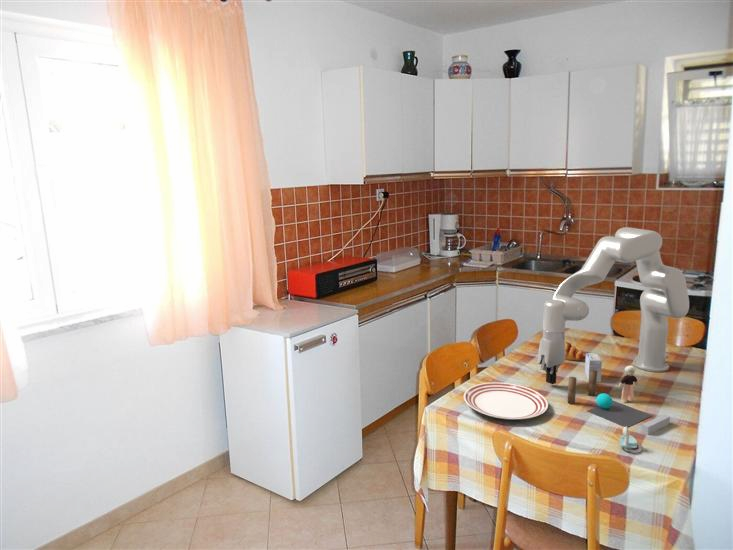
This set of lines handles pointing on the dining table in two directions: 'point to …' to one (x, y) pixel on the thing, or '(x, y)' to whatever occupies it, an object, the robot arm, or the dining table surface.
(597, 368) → the medicine box
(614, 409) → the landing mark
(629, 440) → the pacifier
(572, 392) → the post far
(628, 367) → the grandmother figurine
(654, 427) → the wall
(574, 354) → the croissant
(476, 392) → the dinner plate
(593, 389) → the post near arm
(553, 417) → the dining table surface
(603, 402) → the ball
